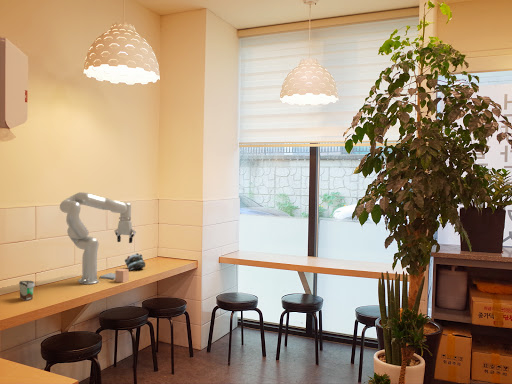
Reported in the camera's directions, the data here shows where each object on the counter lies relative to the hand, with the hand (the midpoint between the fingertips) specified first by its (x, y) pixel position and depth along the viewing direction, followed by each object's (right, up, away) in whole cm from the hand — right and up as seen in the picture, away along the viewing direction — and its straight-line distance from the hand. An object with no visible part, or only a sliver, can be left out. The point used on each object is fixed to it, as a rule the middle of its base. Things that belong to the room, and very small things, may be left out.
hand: (124, 242), depth 345 cm
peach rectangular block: (+3, -26, -16) cm, 30 cm away
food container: (-39, -27, -65) cm, 81 cm away
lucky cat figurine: (+1, -24, +24) cm, 34 cm away
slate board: (-8, -25, -4) cm, 26 cm away
